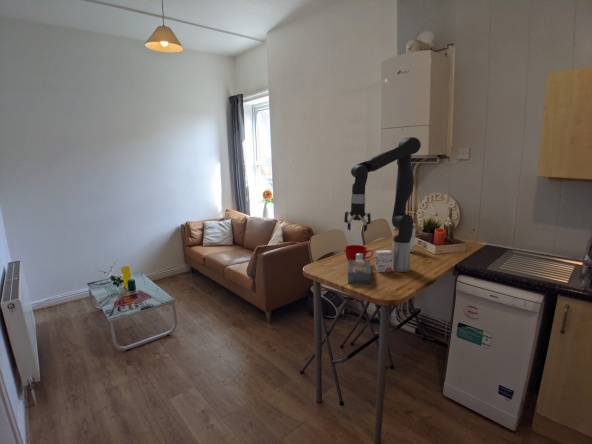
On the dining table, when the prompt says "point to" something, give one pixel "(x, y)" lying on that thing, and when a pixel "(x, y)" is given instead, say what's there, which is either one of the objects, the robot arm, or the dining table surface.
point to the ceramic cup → (356, 251)
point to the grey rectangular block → (359, 265)
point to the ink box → (383, 261)
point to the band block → (359, 273)
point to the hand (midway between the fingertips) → (357, 230)
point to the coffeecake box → (412, 241)
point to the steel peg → (359, 256)
